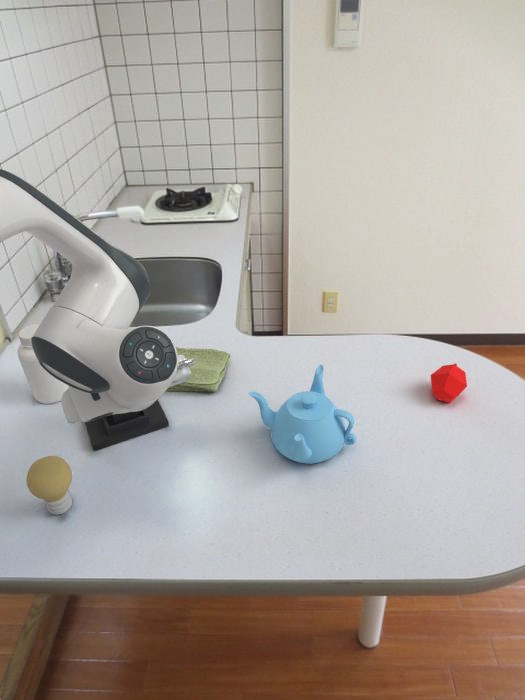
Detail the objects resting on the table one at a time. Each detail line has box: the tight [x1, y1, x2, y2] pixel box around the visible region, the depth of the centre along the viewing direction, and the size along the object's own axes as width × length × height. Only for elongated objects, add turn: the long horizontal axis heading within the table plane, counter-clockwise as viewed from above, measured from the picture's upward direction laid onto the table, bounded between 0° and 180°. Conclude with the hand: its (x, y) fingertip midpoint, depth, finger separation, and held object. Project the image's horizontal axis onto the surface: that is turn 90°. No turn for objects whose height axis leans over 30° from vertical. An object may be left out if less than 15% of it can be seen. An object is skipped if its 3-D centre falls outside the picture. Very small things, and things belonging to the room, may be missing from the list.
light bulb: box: [26, 455, 73, 516], centre depth 80 cm, size 6×6×10 cm
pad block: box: [111, 411, 139, 425], centre depth 96 cm, size 4×4×9 cm
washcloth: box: [165, 346, 232, 393], centre depth 110 cm, size 13×18×3 cm
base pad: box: [84, 398, 170, 452], centre depth 98 cm, size 14×10×3 cm
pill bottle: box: [16, 323, 69, 405], centre depth 103 cm, size 8×8×15 cm
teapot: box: [248, 364, 357, 465], centre depth 90 cm, size 15×15×10 cm
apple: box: [430, 363, 468, 404], centre depth 101 cm, size 7×7×8 cm
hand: (124, 396), depth 89 cm, fingers open, 8 cm apart
